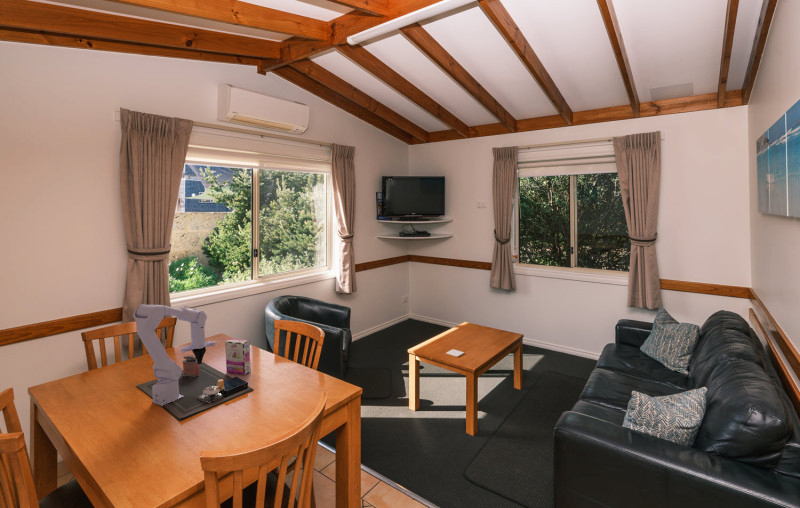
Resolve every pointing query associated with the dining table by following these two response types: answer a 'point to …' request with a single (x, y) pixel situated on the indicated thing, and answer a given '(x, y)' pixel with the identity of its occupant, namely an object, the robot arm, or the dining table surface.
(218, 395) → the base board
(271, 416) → the dining table surface
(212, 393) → the flange plate
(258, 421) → the dining table surface
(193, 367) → the lighter
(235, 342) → the candy bar box
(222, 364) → the dining table surface
